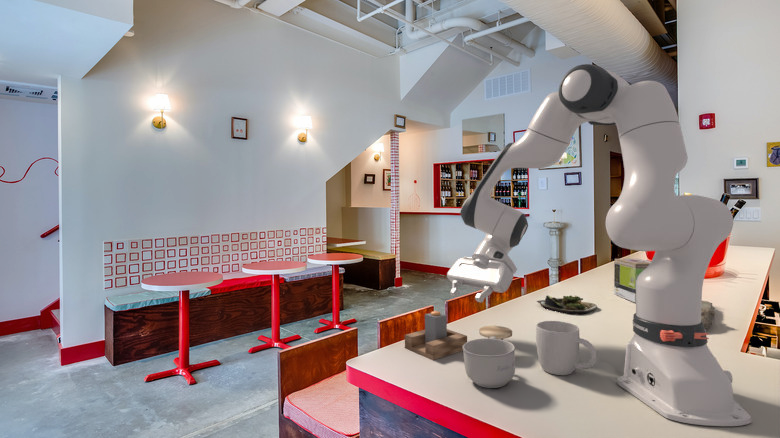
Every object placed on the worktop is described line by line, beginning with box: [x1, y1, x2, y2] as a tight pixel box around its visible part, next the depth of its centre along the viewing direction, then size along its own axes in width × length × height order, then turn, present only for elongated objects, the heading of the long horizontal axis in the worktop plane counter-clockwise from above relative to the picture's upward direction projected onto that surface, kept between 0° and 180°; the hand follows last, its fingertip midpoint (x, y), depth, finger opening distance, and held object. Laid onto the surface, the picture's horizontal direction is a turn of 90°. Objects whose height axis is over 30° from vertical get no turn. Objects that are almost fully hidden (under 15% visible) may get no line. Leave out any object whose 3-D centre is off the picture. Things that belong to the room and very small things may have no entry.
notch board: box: [404, 328, 468, 361], centre depth 109 cm, size 12×11×4 cm
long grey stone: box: [701, 300, 716, 330], centre depth 132 cm, size 35×5×10 cm
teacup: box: [462, 336, 516, 389], centre depth 90 cm, size 14×11×8 cm
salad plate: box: [536, 294, 598, 315], centre depth 149 cm, size 19×18×5 cm
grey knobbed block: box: [424, 310, 448, 343], centre depth 109 cm, size 4×4×9 cm
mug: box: [535, 320, 598, 376], centre depth 93 cm, size 13×9×10 cm
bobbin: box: [478, 325, 513, 340], centre depth 105 cm, size 8×8×6 cm
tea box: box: [613, 258, 652, 304], centre depth 159 cm, size 15×10×15 cm
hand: (465, 297), depth 115 cm, fingers open, 8 cm apart
